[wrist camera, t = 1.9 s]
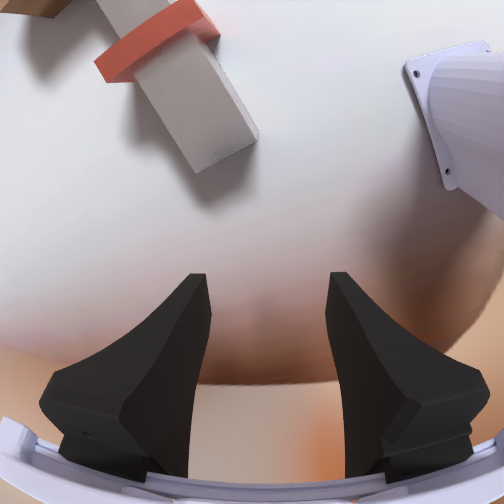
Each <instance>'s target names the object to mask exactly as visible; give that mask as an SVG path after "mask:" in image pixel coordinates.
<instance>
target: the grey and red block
mask: <svg viewBox="0 0 504 504" xmlns="http://www.w3.org/2000/svg"><path fill="white" fill-rule="evenodd" d="M96 1H97V3H98V4H99V6H100V8H101V9H102V11H103V12H104V14H105V16H106V17H107V19H108V20H109V22H110V24H111V25H112V27H113V28H114V30H115V32H116V33H117V35H118V36H119V38H120V40H119V41H118V42H116V43H115V44H114V45H113V46H111V47H110V48H109V49H108V50H106V51H105V52H104V53H103V54H102V55H101V56H99V57H98V58H97V59H96V60H95V61H94V63H95V64H96V66H97V68H98V69H99V71H100V73H101V74H102V76H103V78H104V79H105V81H106V83H121V82H138V83H139V85H140V86H141V88H142V90H143V91H144V93H145V94H146V96H147V98H148V99H149V101H150V102H151V104H152V106H153V107H154V109H155V110H156V112H157V114H158V115H159V117H160V118H161V120H162V122H163V123H164V125H165V126H166V128H167V130H168V131H169V133H170V134H171V136H172V138H173V139H174V141H175V142H176V144H177V146H178V147H179V149H180V150H181V152H182V154H183V155H184V157H185V158H186V160H187V161H188V163H189V165H190V166H191V168H192V169H193V171H194V173H195V174H197V173H199V172H201V171H202V170H204V169H206V168H208V167H210V166H211V165H213V164H215V163H217V162H219V161H220V160H222V159H224V158H226V157H228V156H230V155H231V154H233V153H235V152H237V151H239V150H241V149H243V148H245V147H247V146H249V145H251V144H252V143H254V142H256V141H257V138H258V132H259V130H258V128H257V126H256V125H255V123H254V121H253V119H252V118H251V116H250V114H249V112H248V111H247V109H246V107H245V105H244V104H243V102H242V100H241V99H240V97H239V95H238V94H237V92H236V90H235V89H234V87H233V85H232V84H231V82H230V80H229V79H228V77H227V75H226V74H225V72H224V71H223V69H222V67H221V66H220V64H219V62H218V61H217V59H216V58H215V56H214V54H213V53H212V51H211V50H210V48H209V47H208V45H207V44H206V42H208V41H210V40H211V39H213V38H215V37H217V36H219V35H221V34H220V33H219V31H218V30H217V28H216V27H215V25H214V24H213V22H212V21H211V19H210V18H209V16H208V15H207V14H206V13H205V12H204V10H203V9H202V8H201V7H200V6H199V5H198V3H197V2H196V1H195V0H178V1H176V2H175V0H96Z"/></svg>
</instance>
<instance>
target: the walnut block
mask: <svg viewBox="0 0 504 504" xmlns="http://www.w3.org/2000/svg"><path fill="white" fill-rule="evenodd" d="M71 1H72V0H0V13H13V14H23V15H32V16H40V17H47V18H54V17H55V16H56V15H57V14H58V13H59V12H60V11H61V10H62V9H63V8H64V7H65V6H66V5H67V4H69V3H70V2H71Z"/></svg>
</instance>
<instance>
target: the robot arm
mask: <svg viewBox="0 0 504 504" xmlns="http://www.w3.org/2000/svg"><path fill="white" fill-rule="evenodd" d="M405 70H406V72H407V74H408V77H409V79H410V81H411V84H412V86H413V89H414V91H415V94H416V96H417V99H418V102H419V104H420V107H421V110H422V113H423V116H424V119H425V121H426V124H427V128H428V131H429V134H430V137H431V140H432V144H433V147H434V150H435V154H436V158H437V161H438V165H439V169H440V173H441V177H442V181H443V185H444V188H445V189H447V190H448V191H452V190H454V189H456V188H460V189H461V190H463V191H464V192H466V193H467V194H468V195H470V196H471V197H473V198H474V199H475V200H477V201H478V202H479V203H481V204H482V205H483V206H485V207H486V208H487V209H489V210H490V211H491V212H493V213H494V214H495V215H496V216H498V217H499V218H500V219H501V220H503V221H504V52H491V49H490V46H489V44H488V43H487V42H486V41H478V42H473V43H469V44H464V45H460V46H456V47H452V48H448V49H444V50H441V51H437V52H433V53H430V54H426V55H423V56H420V57H416V58H413V59H410V60H407V61H406V62H405ZM414 71H416V72H417V74H418V76H417V78H415V77H414V75H413V72H414ZM446 169H448V173H447V174H446V173H445V171H446ZM211 316H212V313H211V306H210V300H209V294H208V287H207V280H206V274H189V275H188V276H187V277H186V278H185V279H184V280H183V281H182V283H181V284H180V285H179V286H178V287H177V288H176V289H175V290H174V291H173V292H172V293H171V294H170V295H169V296H168V298H167V299H166V300H165V301H164V302H163V303H162V304H161V305H160V306H159V307H158V308H157V309H156V310H154V311H153V312H152V313H151V314H150V315H149V316H148V317H147V318H146V319H145V320H144V321H142V322H141V323H140V324H139V325H138V326H136V327H135V328H134V329H132V330H131V331H130V332H129V333H127V334H126V335H124V336H123V337H122V338H120V339H118V340H117V341H115V342H114V343H112V344H111V345H109V346H108V347H106V348H105V349H103V350H101V351H99V352H97V353H96V354H94V355H92V356H90V357H88V358H86V359H84V360H82V361H80V362H78V363H75V364H73V365H71V366H68V367H66V368H63V369H61V370H58V371H56V372H54V374H53V375H52V377H51V379H50V381H49V383H48V385H47V387H46V388H45V390H44V392H43V394H42V396H41V398H40V400H39V406H40V408H41V410H42V412H43V413H44V414H45V416H46V417H47V418H48V419H49V420H50V421H51V422H52V423H53V424H54V425H55V426H56V427H57V428H58V429H59V430H60V431H61V432H62V433H63V434H64V437H63V440H62V442H61V445H60V446H58V445H56V444H53V443H50V442H48V441H45V440H43V439H41V438H38V437H37V436H36V434H35V433H34V432H33V431H31V430H30V429H29V428H28V427H26V426H25V425H23V424H21V423H19V422H17V421H15V420H13V419H11V418H9V417H7V416H4V417H3V419H2V421H1V423H0V478H2V479H4V480H5V481H7V482H8V483H10V484H11V485H13V486H15V487H16V488H18V489H20V490H21V491H23V492H25V493H26V494H28V495H30V496H32V497H33V498H35V499H37V500H39V501H41V502H43V503H45V504H489V503H491V502H493V501H495V500H496V499H498V498H500V497H502V496H504V428H503V429H502V430H501V431H500V432H499V433H498V434H497V435H496V437H495V438H492V439H490V440H488V441H485V442H483V443H481V444H478V445H476V446H473V447H472V444H471V441H470V439H469V435H470V434H471V433H472V428H471V425H470V422H471V421H472V420H473V419H474V418H475V417H476V416H477V415H478V413H479V412H480V411H481V410H482V409H483V408H484V406H485V405H486V404H487V401H488V399H489V397H490V391H489V389H488V387H487V384H486V382H485V380H484V378H483V376H482V374H481V372H480V370H478V369H475V368H473V367H470V366H468V365H466V364H463V363H461V362H458V361H456V360H454V359H452V358H450V357H448V356H446V355H444V354H442V353H441V352H439V351H437V350H435V349H434V348H432V347H430V346H429V345H427V344H426V343H424V342H422V341H421V340H419V339H418V338H416V337H415V336H414V335H412V334H411V333H409V332H408V331H407V330H406V329H404V328H403V327H402V326H400V325H399V324H398V323H397V322H395V321H394V320H393V319H392V318H391V317H390V316H389V315H388V314H386V313H385V312H384V311H383V310H382V309H381V308H380V307H379V306H378V305H377V304H376V303H375V302H374V301H373V300H372V299H371V298H370V297H369V296H368V295H367V294H366V293H365V292H364V291H363V290H362V289H361V288H360V286H359V285H358V284H357V283H356V282H355V281H354V280H353V279H352V278H351V277H350V276H349V275H348V273H347V272H331V273H330V281H329V289H328V297H327V304H326V311H325V316H326V325H327V332H328V338H329V342H330V346H331V350H332V354H333V358H334V362H335V367H336V371H337V375H338V379H339V384H340V390H341V398H342V408H343V419H344V435H345V479H340V480H331V481H321V482H307V483H286V484H250V483H229V482H215V481H205V480H195V479H188V459H189V444H190V431H191V422H192V421H191V420H192V412H193V404H194V397H195V396H194V395H195V390H196V385H197V380H198V377H199V373H200V369H201V365H202V361H203V357H204V353H205V350H206V346H207V342H208V338H209V332H210V324H211ZM170 498H171V499H177V500H175V501H174V502H173V501H172V500H171V499H170ZM352 500H357V502H356V503H351V502H350V501H352Z"/></svg>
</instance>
